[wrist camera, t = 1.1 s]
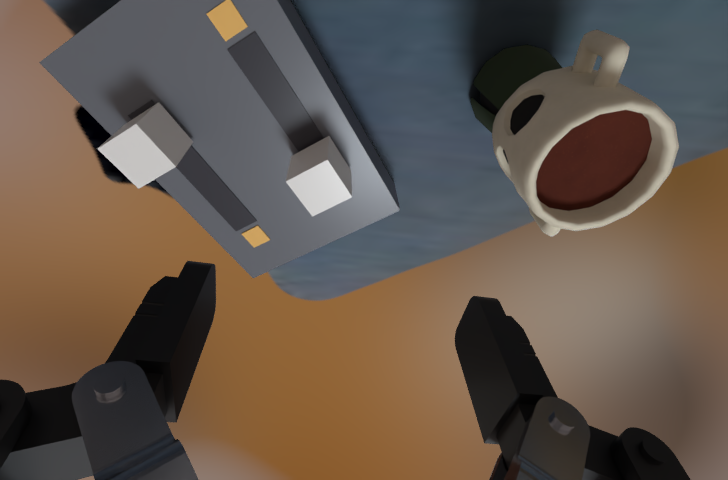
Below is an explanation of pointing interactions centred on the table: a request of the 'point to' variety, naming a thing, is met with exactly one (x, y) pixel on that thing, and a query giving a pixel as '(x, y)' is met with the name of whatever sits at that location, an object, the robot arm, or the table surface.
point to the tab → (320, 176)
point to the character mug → (574, 133)
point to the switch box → (230, 116)
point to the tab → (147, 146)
